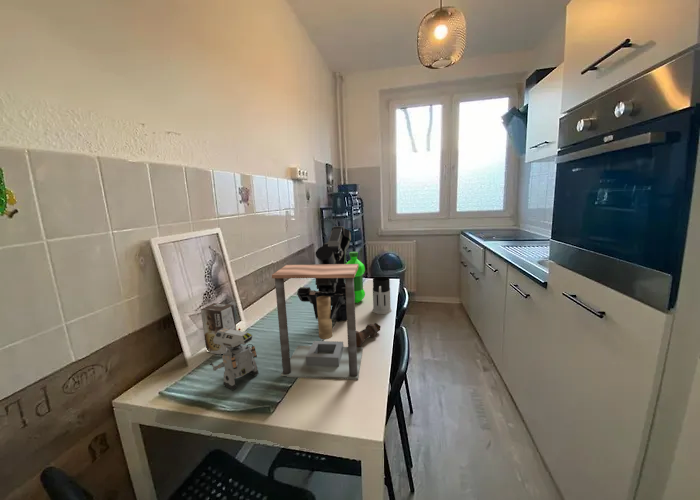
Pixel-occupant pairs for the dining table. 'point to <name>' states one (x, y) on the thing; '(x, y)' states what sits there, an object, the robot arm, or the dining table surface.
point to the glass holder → (381, 295)
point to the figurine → (235, 355)
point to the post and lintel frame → (297, 362)
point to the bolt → (366, 333)
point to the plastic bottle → (357, 277)
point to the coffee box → (217, 324)
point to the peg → (324, 317)
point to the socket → (325, 359)
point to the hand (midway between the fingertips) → (323, 318)
